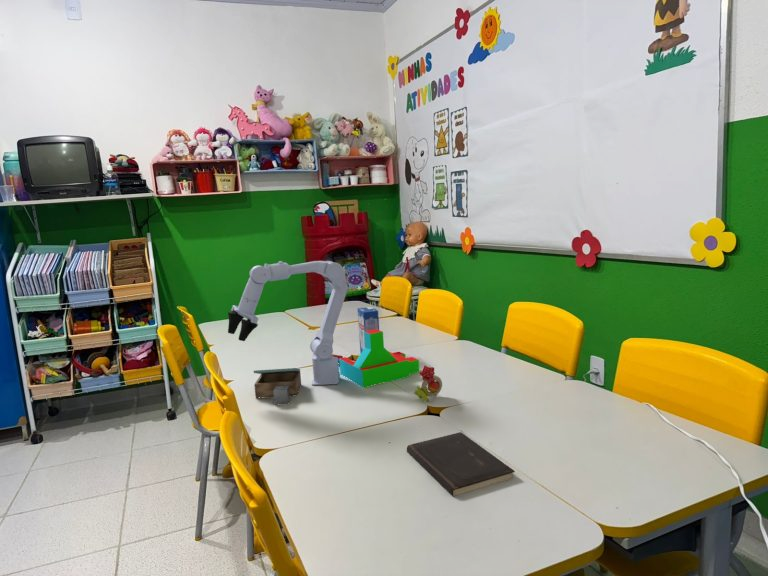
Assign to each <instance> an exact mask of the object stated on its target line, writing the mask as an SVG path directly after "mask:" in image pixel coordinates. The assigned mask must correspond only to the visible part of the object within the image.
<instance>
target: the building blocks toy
mask: <svg viewBox="0 0 768 576" xmlns="http://www.w3.org/2000/svg"><path fill="white" fill-rule="evenodd" d="M364 341H365V348H364V349H363V351H362V353H360V354H359V356H358V357H357V359H356V360H352V359H350V358H348V357H346V356H345V357H344V356H343V358H339V363H340V364H339V372H340V376H342V375H343V376H342V377H344V376H345V377H344V378H346V377H347V378H348V379H347V378H346V379H347V380H349V379H350V380H349V381H351V380H352V381H353V382H352V381H351V382H352V383H354V382H355V383H354V384H356V383H357V384H358V385H357V384H356V385H357V386H359V385H360V386H359V387H361V386H362V387H366V388H368V387H367V386H370V387H372V386H371V385H374V384H378V385H380V384H379V383H382V384H384V383H383V382H386V383H389V382H393V381H397V380H402V379H405V378H409V377H410V375H412V374H415V373H420V361H419V360H420V359H418V358H416V357H413V356H410V357H406V353H404V352H402V351H396V352H392V351H391V352H390V351H389V350H387V349H386V348H385V343H384V332H383V330H380V329H379V330H377V329H375V330H370V331H364ZM374 386H375V385H374ZM362 387H361V388H362Z"/></svg>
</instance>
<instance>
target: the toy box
mask: <svg viewBox="0 0 768 576" xmlns="http://www.w3.org/2000/svg"><path fill="white" fill-rule="evenodd" d="M301 377H302V376H301V370H300V371H299V372H284V373H268V374H259V377H258V378H257V380H256V381H255V382H254V385H253V386H254V396H255V399H263V398H262V397H270V398H274V394H273V390H274V388H275V387H276V386H283V385H289V387H290V397H297V396H298V395H299V392H300V389H301V387H302V378H301ZM298 391H299V392H298ZM259 397H260V398H259Z"/></svg>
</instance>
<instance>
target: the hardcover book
mask: <svg viewBox="0 0 768 576" xmlns="http://www.w3.org/2000/svg"><path fill="white" fill-rule="evenodd" d="M406 453H408V454H409V456H411V458H413V459H414V460H415V461H416V462H417V463H418V464H419V465H420V466H421V467H422V469H424V470H425V471H426V472H427V474H429V475H430V476H431V477H432V478H433V479H434V480H435V481H436V482H437V483H438V484H439V485H440V486H441V487H442V488H444V490H446V492H447V493H448V494H449V495H450V496H451V497H455V496H458V495H461V494H465V493H468V492H471V491H473V490H478V489H482V488H484V487H487V486H490V485H494V484H497V483H500V482H504V481H507V480H510V479H513V478H514V477H513V474H514V473H516V471H515V470H514V469H512V468H511V467H510V466H508V465H507V464H506V463H504V462H503V461H501V460H500V459H498V458H497V457H496V456H495V455H493V454H492V453H491V452H489V451H488V450H486V448H484V447H482V446H481V445H479V444H478V443H477V442H476V441H474V440H473V439H471V438H470V437H469V436H467V435H466V434H465V433H463V432H461V431H460V432H456V433H452V434H447V435H443V436H439V437H436V438H431V439H427V440H423V441H419V442H416V443H415V442H414V443H412V444H409V445H407V447H406Z"/></svg>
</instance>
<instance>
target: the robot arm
mask: <svg viewBox="0 0 768 576" xmlns="http://www.w3.org/2000/svg"><path fill="white" fill-rule="evenodd" d="M248 273H249V278H248V280H247V283H246V285H245V287H244V290H243V292H242V295H241V298H240V301H239V303H238V305H232V306H231V309H230V310H231V311H228V312H227V315H228V327H227V333H228V334H231V335H234V334H235V333H236V331H237V329H238V327H239V325H240V323H241V325H240V331H239V333H238V334H239V335H238V341H242V342H245V341H246V340H247V338H248V337H249V335H250V334H251V333H252V332H253V331H254V330H255V329H256V328H257V327H258V325H259V324H258V321H259V319H260V318H258V316H257V315H255V311H256V310H257V309H256V308H257V307H258V304H259V301H260V299H261V295H262V293H263V289H264V286H265V284H266V283H267V282H268V281H269V282H273V281H282V280H288V279H289V278H290V277H291V275H299V274H307V273H316V274H319V275H321V276H322V277H323V278H324V279H325V280H326V281H327V282H328V283H329V285H330V287H331V289H332V290H331V294H330V296H329V300H328V302H327V306H326V309H325V311H324V315H323V318H322V321H321V324H320V327H319V330H318V331H317V332H316V334H315V337H314V338H313V339H312V340H311V341H310V344H309V349H310V350H311V352H312V353H313V355H312V357H311V362H312V371H313V372H312V373H313V374H312V375H313V380H312V383H311V386H321V385H323V386H325V385H335V384H336V385H337V384H339V381H340V376H341V374H340V364H338V357H332V354H333V352H334V349H333V344H334V333H335V330H336V327H337V324H338V321H339V317H340V314H341V311H342V309H343V304H344V301H345V298H346V295H347V292H348V289H349V287H348V283H347V282H348V281H347V278H346V270H345V269H344V268H343V266H342V264H340V263H338V262H333V261H332V260H325V261H324V260H313V261H308V262H303V263H297V264H292V265H291V264H289V263H287V262H283V261H282V260H280V261H278V262H277V263H272V264H268V263H264V265H259V264H258V265H255V266H253V267H252V268H251V269H250V270H249V272H248Z"/></svg>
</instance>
